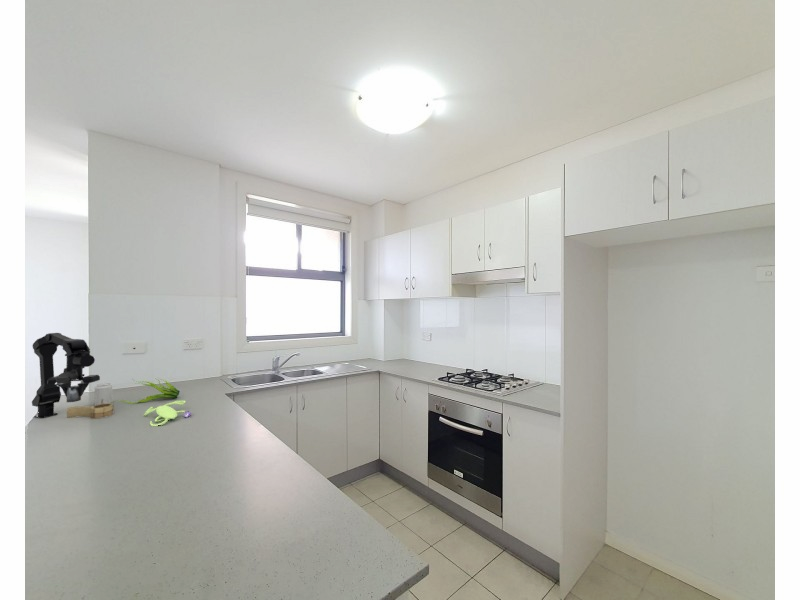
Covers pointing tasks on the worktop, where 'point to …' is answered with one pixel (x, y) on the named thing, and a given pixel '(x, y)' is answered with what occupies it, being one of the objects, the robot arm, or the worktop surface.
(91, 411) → the hinge
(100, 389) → the can
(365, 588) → the worktop surface
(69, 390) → the hinge pin
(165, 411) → the figurine
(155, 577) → the worktop surface
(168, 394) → the decorative plant
